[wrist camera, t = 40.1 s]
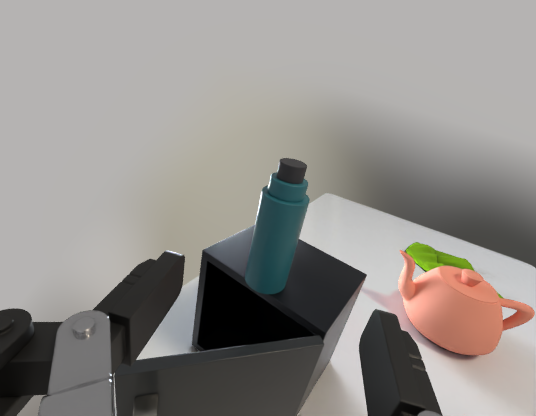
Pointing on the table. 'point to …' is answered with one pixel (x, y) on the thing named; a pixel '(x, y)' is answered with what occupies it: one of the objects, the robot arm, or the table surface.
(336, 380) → the table surface
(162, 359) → the door
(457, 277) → the teapot
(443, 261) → the cloth
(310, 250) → the small dark safe
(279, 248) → the water bottle
